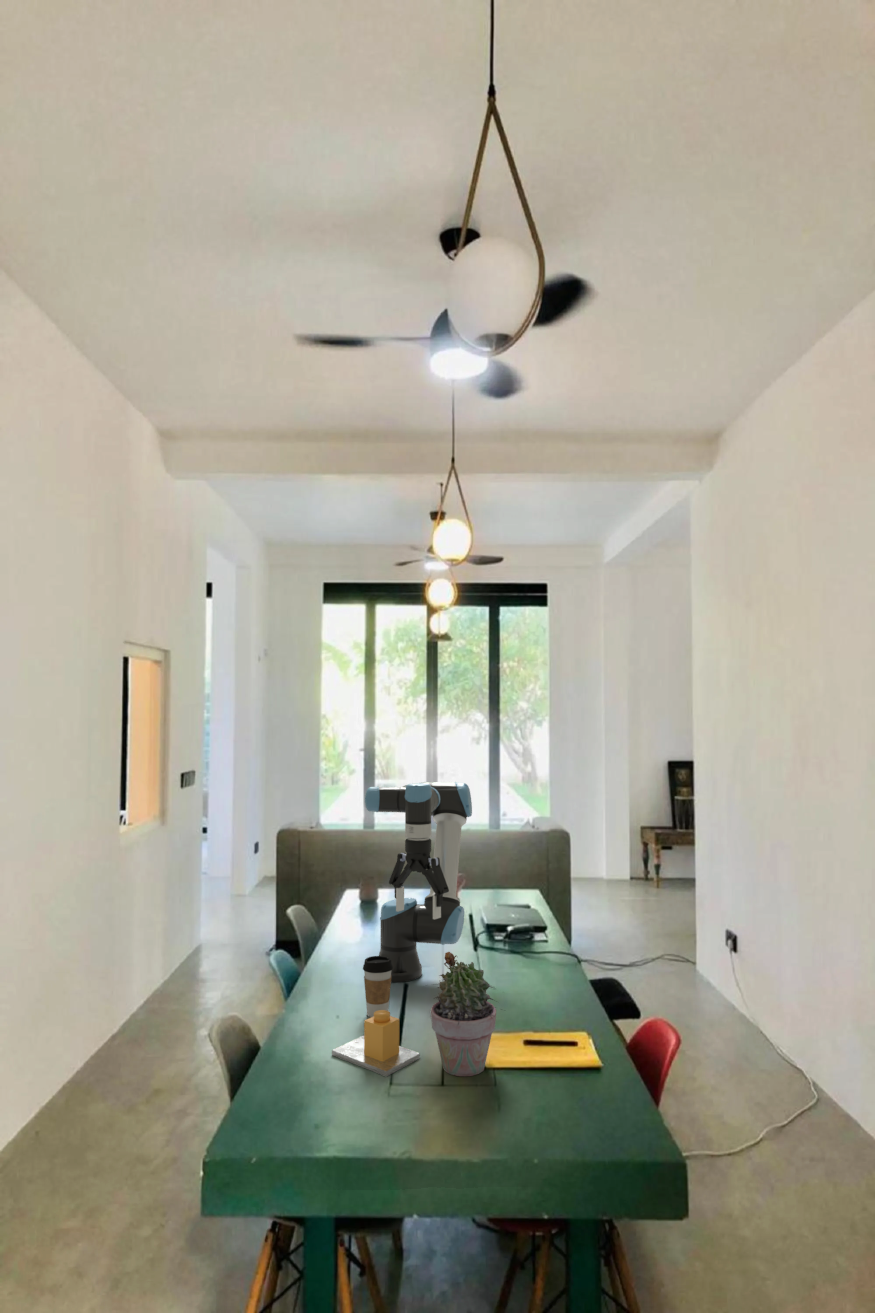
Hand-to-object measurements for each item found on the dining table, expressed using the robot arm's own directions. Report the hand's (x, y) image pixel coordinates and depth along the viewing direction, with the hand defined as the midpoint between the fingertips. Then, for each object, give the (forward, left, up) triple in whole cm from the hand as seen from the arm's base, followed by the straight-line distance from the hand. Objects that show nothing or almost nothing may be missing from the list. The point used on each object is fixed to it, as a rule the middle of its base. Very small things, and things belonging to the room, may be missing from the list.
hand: (418, 914), depth 214 cm
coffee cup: (-8, -8, -27) cm, 29 cm away
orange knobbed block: (+12, -28, -26) cm, 40 cm away
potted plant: (+31, -19, -27) cm, 45 cm away
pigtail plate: (+10, -28, -27) cm, 40 cm away
